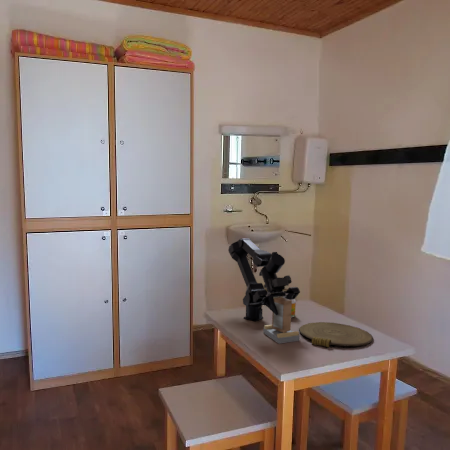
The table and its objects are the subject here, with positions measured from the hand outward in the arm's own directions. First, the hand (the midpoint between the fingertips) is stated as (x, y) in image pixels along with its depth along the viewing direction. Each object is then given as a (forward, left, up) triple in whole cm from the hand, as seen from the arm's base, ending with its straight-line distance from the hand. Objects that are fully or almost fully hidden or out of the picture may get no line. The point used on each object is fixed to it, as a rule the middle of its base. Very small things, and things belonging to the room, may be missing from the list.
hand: (283, 314), depth 167 cm
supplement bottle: (-12, +26, -10) cm, 30 cm away
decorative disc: (+14, +16, -10) cm, 24 cm away
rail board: (-1, +1, -9) cm, 10 cm away
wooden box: (-1, +1, -7) cm, 7 cm away
